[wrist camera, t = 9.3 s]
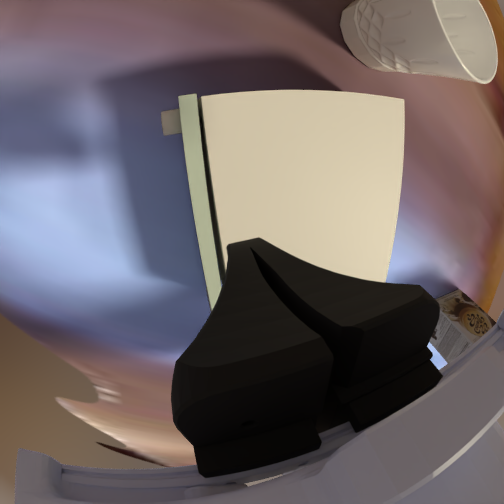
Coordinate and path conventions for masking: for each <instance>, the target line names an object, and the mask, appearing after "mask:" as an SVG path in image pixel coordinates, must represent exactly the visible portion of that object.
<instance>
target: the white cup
mask: <svg viewBox="0 0 504 504" xmlns="http://www.w3.org/2000/svg"><path fill="white" fill-rule="evenodd" d="M340 27H341V31H342V35H343V39H344V42H345V43H346V44H347V46H348V47H349V49H350V50H351V52H352V53H353V55H354V56H355V57H356V58H357V59H358V60H360V61H361V62H362V63H364V64H365V65H366V66H367V67H369V68H373V69H376V70H379V71H394V72H404V73H411V74H423V75H431V76H440V77H448V78H455V79H461V80H467V81H472V82H477V83H482V84H487V83H489V82H491V81H492V79H493V78H494V76H495V73H496V70H497V60H498V57H497V46H496V41H495V37H494V33H493V30H492V27H491V24H490V21H489V19H488V17H487V15H486V12H485V10H484V9H483V7H482V5H481V3H480V2H479V0H356V1H354V2H352V3H351V4H350V5H349V6H348V7H346V8H345V9H344V10H343V11H342V16H341V21H340Z"/></svg>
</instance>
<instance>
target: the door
mask: <svg viewBox="0 0 504 504" xmlns="http://www.w3.org/2000/svg"><path fill="white" fill-rule="evenodd" d="M178 97H179V109H174V110H168V111H162V112H161V121H162V129H163V134H164V136H167V135H172V134H178V133H182V136H183V144H184V152H185V160H186V167H187V174H188V181H189V188H190V195H191V201H192V208H193V214H194V220H195V226H196V232H197V238H198V243H199V249H200V254H201V260H202V265H203V270H204V275H205V280H206V285H207V287H206V291H207V296H208V301H209V306H210V311H211V312H212V310H213V308H214V306H215V304H216V301H217V299H218V296H219V294H220V291H221V282H220V276H219V270H218V263H217V257H216V250H215V243H214V237H213V230H212V223H211V216H210V208H209V201H208V193H207V185H206V177H205V169H204V161H203V152H202V143H201V134H200V125H199V115H198V104H197V94H189V95H182V96H178Z"/></svg>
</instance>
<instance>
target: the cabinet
mask: <svg viewBox="0 0 504 504" xmlns="http://www.w3.org/2000/svg"><path fill="white" fill-rule="evenodd" d="M197 104H198V115H199V125H200V134H201V143H202V152H203V161H204V169H205V177H206V185H207V193H208V201H209V208H210V216H211V223H212V230H213V236H214V241H215V247H216V253H217V258H218V264H219V269H220V275H221V280H222V284H223V281H224V277H225V273H226V268H227V261H228V255H227V249H226V247H227V245H228V244H230V243H235V242H239V241H244V240H249V239H253V238H258V237H260V238H262V239H264V240H265V241H267V242H269V243H271V244H272V245H274V246H276V247H278V248H280V249H282V250H283V251H285V252H287V253H289V254H291V255H293V256H295V257H297V258H299V259H302V260H304V261H306V262H308V263H311V264H313V265H316V266H318V267H321V268H324V269H327V270H330V271H333V272H336V273H339V274H343V275H347V276H351V277H355V278H360V279H365V280H370V281H377V282H384V283H385V281H386V277H387V272H388V268H389V263H390V258H391V253H392V247H393V242H394V236H395V230H396V223H397V216H398V209H399V201H400V192H401V182H402V170H403V154H404V99H398V98H392V97H386V96H379V95H371V94H362V93H352V92H340V91H323V90H266V91H248V92H236V93H226V94H217V95H209V96H201V97H200V98H199V99H198V100H197Z"/></svg>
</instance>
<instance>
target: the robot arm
mask: <svg viewBox="0 0 504 504" xmlns="http://www.w3.org/2000/svg"><path fill="white" fill-rule="evenodd" d="M226 249H227V255H228V261H227V268H226V273H225V277H224V281H223V285H222V288H221V291H220V294H219V296H218V299H217V301H216V304H215V306H214V308H213V310H212V312H211V314H210V316H209V318H208V319H207V321H206V323H205V324H204V326H203V327H202V329H201V330H200V332H199V333H198V335H197V337H196V338H195V339H194V341H193V342H192V343H191V344H190V346H189V347H188V348H187V349H186V350H185V352H184V353H183V354H182V355H181V356H180V358H179V359H178V360H177V361H176V364H175V368H174V374H173V380H172V392H171V403H172V413H173V422H174V424H175V426H176V428H177V429H178V430H179V431H180V432H181V433H182V434H183V436H184V437H185V438H186V439H187V440H188V441H189V442H190V443H191V444H192V445H193V447H194V452H195V457H196V463H197V465H190V466H182V467H171V468H158V469H157V468H156V469H103V468H90V467H80V466H71V465H64V464H61V463H60V462H58V461H57V460H55V459H54V458H52V457H50V456H48V455H45V454H43V453H39V452H34V451H30V450H25V449H21V448H20V449H18V455H17V464H16V477H15V504H504V430H503V428H502V427H501V426H500V424H499V423H498V422H497V419H498V418H499V417H500V416H501V414H502V413H503V412H504V309H503V311H502V313H501V314H500V316H499V318H498V320H497V323H496V324H495V325H494V326H493V327H492V328H491V329H490V330H489V331H488V332H487V333H485V334H484V335H483V336H482V337H481V338H480V339H479V340H477V341H476V342H475V343H474V344H473V345H471V346H470V347H469V348H468V349H467V350H465V351H464V352H463V353H462V354H460V355H459V356H458V357H456V358H455V359H454V360H452V361H451V362H450V363H448V364H447V365H446V366H444V367H443V368H441V369H440V370H438V369H437V368H436V366H435V365H434V364H433V363H432V362H431V360H430V359H431V358H432V356H433V355H432V352H431V351H430V350H429V349H428V347H427V345H428V343H429V341H430V339H431V337H432V335H433V332H434V330H435V328H436V326H437V323H438V320H439V316H440V306H439V303H438V302H437V301H436V300H435V299H434V298H433V297H432V296H431V295H430V294H429V293H428V292H427V291H426V290H424V289H423V288H422V287H421V286H420V285H410V284H393V283H384V282H377V281H370V280H365V279H360V278H355V277H351V276H347V275H343V274H339V273H336V272H333V271H330V270H327V269H324V268H321V267H318V266H316V265H313V264H311V263H308V262H306V261H304V260H302V259H299V258H297V257H295V256H293V255H291V254H289V253H287V252H285V251H283V250H282V249H280V248H278V247H276V246H274V245H272V244H271V243H269V242H267V241H265V240H264V239H262V238H260V237H258V238H253V239H249V240H244V241H239V242H235V243H230V244H228V245H227V247H226ZM280 474H282V475H283V476H281V477H278V478H275V479H272V480H269V481H265V482H262V483H259V484H256V485H252V486H249V487H248V486H247V485H246V484H244V483H249V482H253V481H257V480H261V479H265V478H269V477H273V476H277V475H280Z"/></svg>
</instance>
